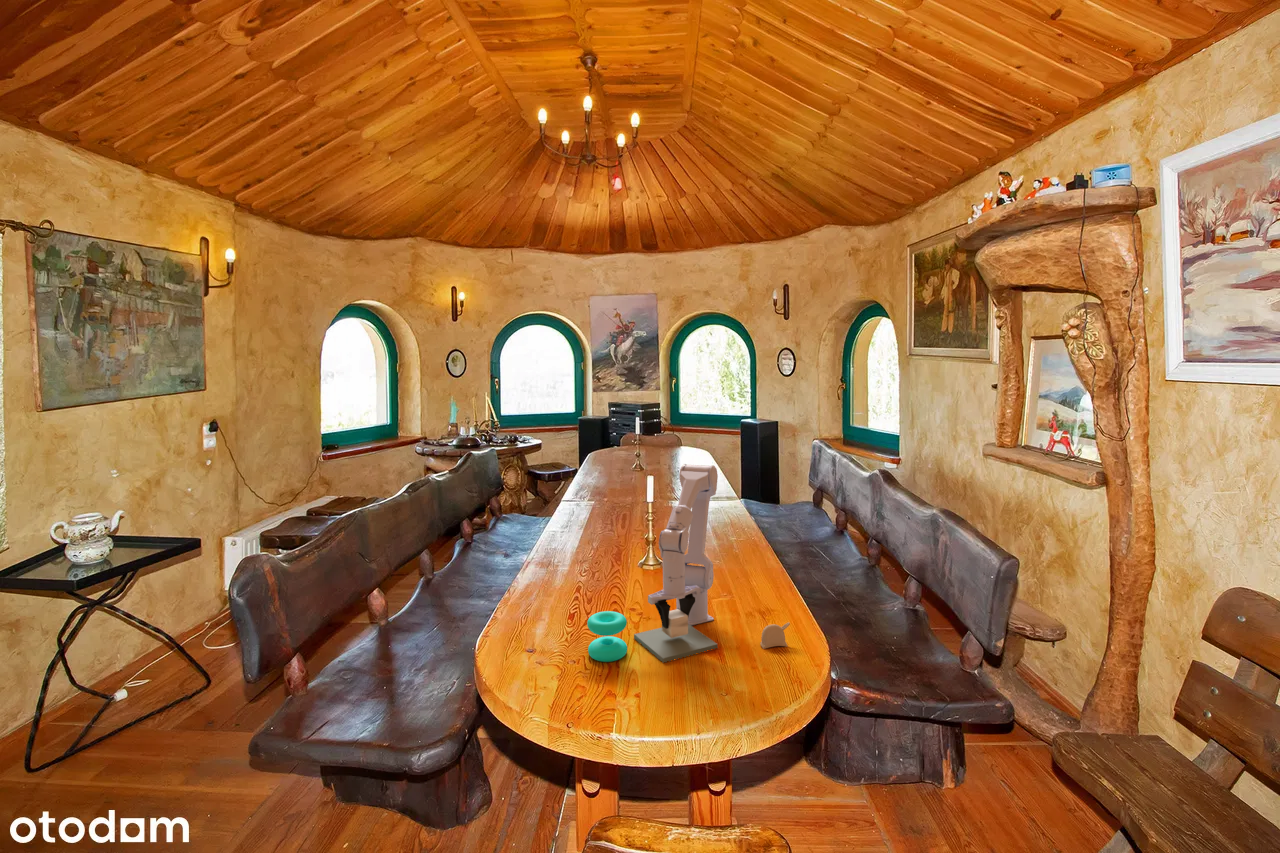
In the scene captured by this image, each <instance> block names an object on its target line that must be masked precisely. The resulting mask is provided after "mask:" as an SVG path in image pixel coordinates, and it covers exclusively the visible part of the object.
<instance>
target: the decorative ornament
mask: <svg viewBox="0 0 1280 853" xmlns="http://www.w3.org/2000/svg"><path fill="white" fill-rule="evenodd" d="M790 624H791V623H790V622H789V621H788V622H786V623H785V624H784V625H782V626H781V625H778V624H775V623H773V624H768V625H766V626H765V627H764V629H762V633H761V642H760V643H759V644H760V646H761V648H762V649H763V650H764V649H765V650H766V649H768V648H773V647H789V646H788V645H789V644H788V643H787V641H786V635H785V631H784V630H786V629H787V628H788V627H789V626H790Z"/></svg>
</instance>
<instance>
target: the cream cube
mask: <svg viewBox="0 0 1280 853" xmlns="http://www.w3.org/2000/svg"><path fill="white" fill-rule="evenodd" d="M661 628H662V631H663V632H664V633H665V634H667V635H668V636H669V637H671V638H674V637H678V636H682V635H686V634H688V615H686V614H685V613H683V612H682V611H680V610H679V609H677V608H675V609H672V610H671V609H670V611H669V627H668V628H667V629H666V628H664V627H663V626H662V625H661Z"/></svg>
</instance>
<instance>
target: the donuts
mask: <svg viewBox="0 0 1280 853" xmlns="http://www.w3.org/2000/svg"><path fill="white" fill-rule="evenodd" d="M586 623H587V624H586V625H587V628H588V630H589V631H590V632H591V633H593V634H595V635H598V636H600V637H598V638H595V639H594V640H592V641H591V642H590V644H589V645H588V648H587V651H588V652H587V653H588V655H589V656H590V657H591V659H594V660H595V661H598V662H602V663H604V662H605V663H609V662H610V663H611V662H615V661H618V660H621V659H622V658H623V657H625V656H626V654H627V652H628V645H627V643H626V642H625V640H624V639H622V638H619V637H617V636H614V635H618V634H620V633H621V632H622V631H624V630H625V628H626V627H627V625H628V624H627V623H628V621H627V618H626V616H624V614H623V613H620V612H618V611H613V610H612V611H610V610H605V611H599V612H596V613H594V614H592V615H590V617H588V620H587V622H586Z"/></svg>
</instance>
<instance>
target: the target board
mask: <svg viewBox="0 0 1280 853" xmlns="http://www.w3.org/2000/svg"><path fill="white" fill-rule="evenodd" d="M633 639H634V640H636V641H637V642H638V643H639V644H640V643H641V644H642V645H641V644H640V645H641V646H643V647H644V648H645V649H646V648H647V649H648V650H649V651H648V650H647V649H646V650H647V651H648V652H650V653H651V654H652V655H653V654H654V655H655V656H654V655H653V656H654V657H655V658H656V659H658V660H659V661H660V662H661V661H662V664H664V662H665V663H668V662H667V661H669V662H672V661H671V660H673V661H675V660H674V659H676V660H679V659H678V658H680V659H683V658H682V657H684V658H686V656H688V657H690V656H689V655H691V656H694V655H693V654H695V655H697V654H696V653H699V654H701V653H700V652H703V653H705V652H704V651H706V652H708V651H707V650H710V651H712V650H711V649H714V650H716V649H715V648H717V649H718V648H719V647H718V643H717V642H715V641H714V640H712V639H711V638H710V637H708V636H707V635H705V634H704V633H702V632H701V631H699V630H698V629H697V628H695V627H694V626H693V625H689V624H688V634H686V635H682V636H678V637H674V638H671V637H669V636H668V635H667V634H665V633H664V632H663V631H662V627H658V628H653V629H649V630H646V631H642V632H638V633H633Z"/></svg>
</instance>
